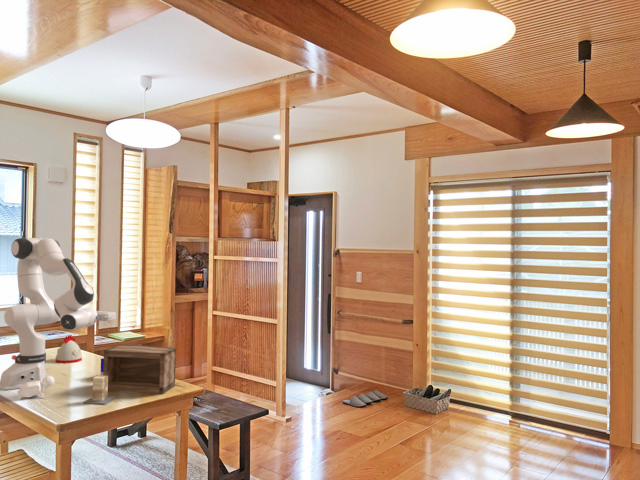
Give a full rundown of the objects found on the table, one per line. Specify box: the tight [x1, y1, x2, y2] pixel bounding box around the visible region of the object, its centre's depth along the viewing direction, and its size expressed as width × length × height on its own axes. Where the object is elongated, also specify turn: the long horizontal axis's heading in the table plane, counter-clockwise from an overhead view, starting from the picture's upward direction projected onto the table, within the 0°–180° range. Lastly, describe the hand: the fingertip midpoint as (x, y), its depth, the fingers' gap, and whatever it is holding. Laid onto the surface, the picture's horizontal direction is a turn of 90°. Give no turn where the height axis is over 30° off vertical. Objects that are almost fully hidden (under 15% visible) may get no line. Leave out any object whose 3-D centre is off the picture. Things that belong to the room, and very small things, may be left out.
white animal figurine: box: [17, 375, 56, 401], centre depth 233 cm, size 9×8×15 cm
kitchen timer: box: [55, 334, 83, 364], centre depth 303 cm, size 14×14×15 cm
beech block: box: [91, 374, 109, 401], centre depth 229 cm, size 4×4×10 cm
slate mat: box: [82, 395, 117, 406], centre depth 229 cm, size 10×10×1 cm
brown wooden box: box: [103, 344, 177, 395], centre depth 250 cm, size 14×30×19 cm, turn 84°
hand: (102, 313), depth 261 cm, fingers open, 8 cm apart
